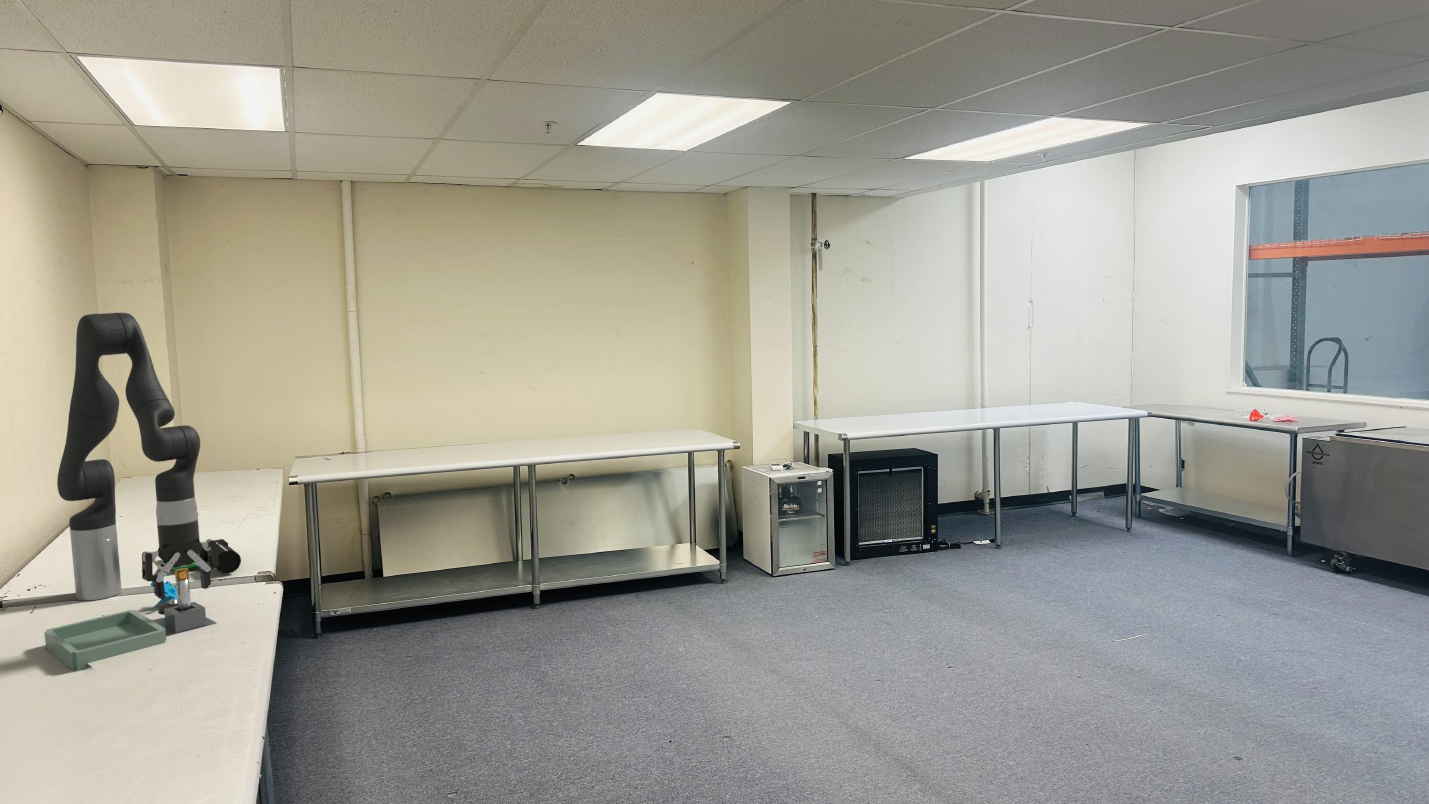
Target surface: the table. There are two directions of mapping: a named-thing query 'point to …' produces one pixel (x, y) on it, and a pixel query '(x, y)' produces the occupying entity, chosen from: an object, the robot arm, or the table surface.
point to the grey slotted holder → (181, 617)
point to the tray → (103, 638)
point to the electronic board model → (220, 558)
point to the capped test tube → (183, 589)
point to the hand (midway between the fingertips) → (183, 593)
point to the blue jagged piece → (167, 592)
